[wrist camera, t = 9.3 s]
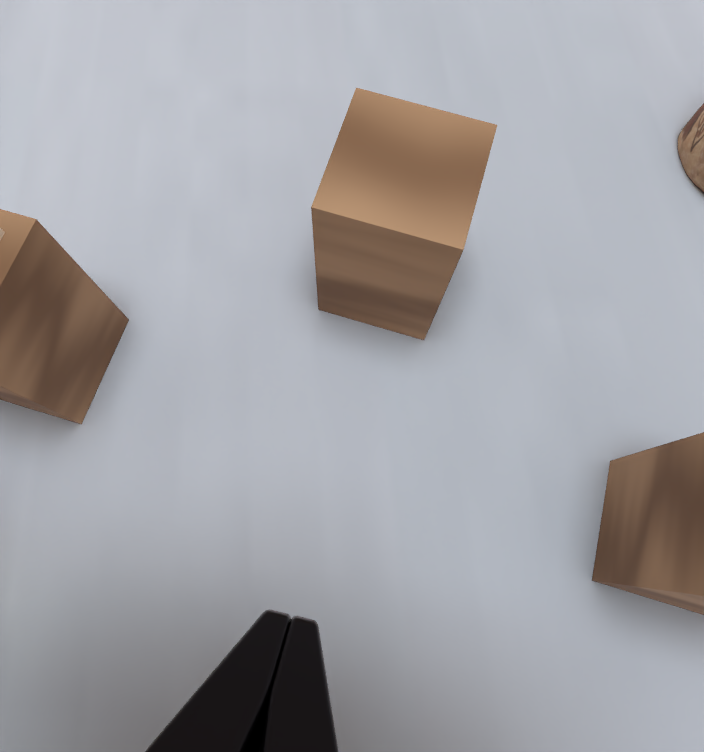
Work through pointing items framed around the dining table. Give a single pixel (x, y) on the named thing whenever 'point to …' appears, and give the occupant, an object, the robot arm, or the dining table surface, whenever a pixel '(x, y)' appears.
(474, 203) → the plain block
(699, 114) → the figurine
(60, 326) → the tile block
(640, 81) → the dining table surface
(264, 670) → the robot arm
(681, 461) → the tile block
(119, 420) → the dining table surface
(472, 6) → the dining table surface
